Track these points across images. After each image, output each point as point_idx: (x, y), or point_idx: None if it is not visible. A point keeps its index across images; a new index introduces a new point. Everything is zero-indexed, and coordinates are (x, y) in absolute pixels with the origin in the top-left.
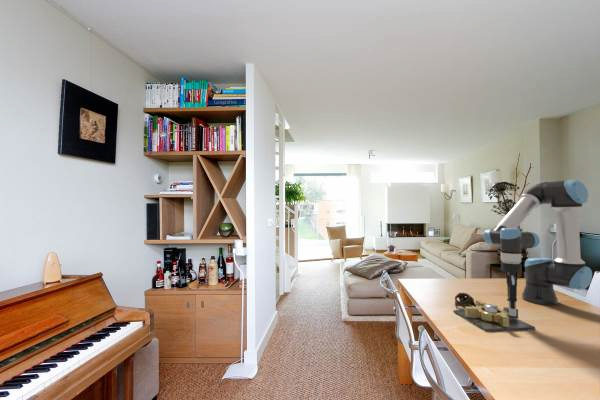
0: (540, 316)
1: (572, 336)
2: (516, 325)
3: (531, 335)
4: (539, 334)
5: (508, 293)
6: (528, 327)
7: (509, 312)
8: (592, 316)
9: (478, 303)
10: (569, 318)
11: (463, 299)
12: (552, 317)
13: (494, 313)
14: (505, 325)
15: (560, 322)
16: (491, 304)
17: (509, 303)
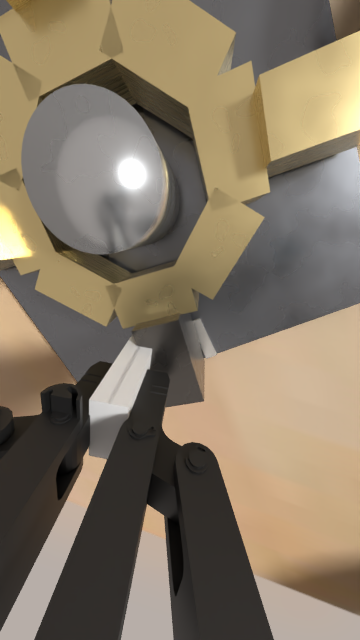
0: (295, 473)
1: (86, 473)
2: (65, 323)
3: (8, 350)
4: (41, 384)
5: (86, 511)
6: (69, 369)
7: (132, 337)
8: (331, 601)
9: (325, 59)
10: (292, 544)
11: None
12: (291, 505)
13: (26, 201)
14: None
15: (231, 503)
16: (150, 199)
17: (102, 384)
